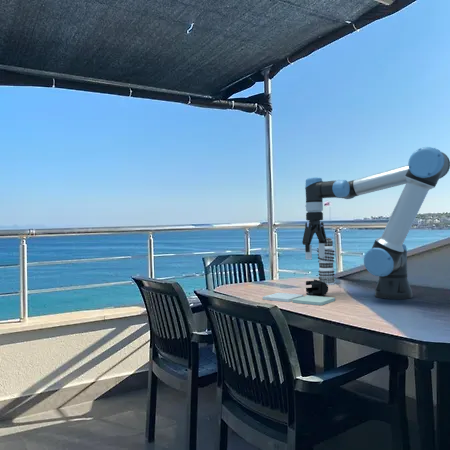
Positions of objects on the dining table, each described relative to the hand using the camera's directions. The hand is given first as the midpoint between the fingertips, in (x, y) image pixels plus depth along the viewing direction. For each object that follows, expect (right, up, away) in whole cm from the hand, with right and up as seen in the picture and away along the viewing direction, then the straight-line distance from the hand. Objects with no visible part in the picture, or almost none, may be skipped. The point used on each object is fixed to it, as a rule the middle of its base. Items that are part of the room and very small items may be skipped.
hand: (315, 258), depth 192 cm
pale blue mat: (-16, -17, -6) cm, 24 cm away
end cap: (+1, -17, +1) cm, 17 cm away
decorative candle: (+14, -17, +37) cm, 43 cm away
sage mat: (-4, -17, -16) cm, 23 cm away
